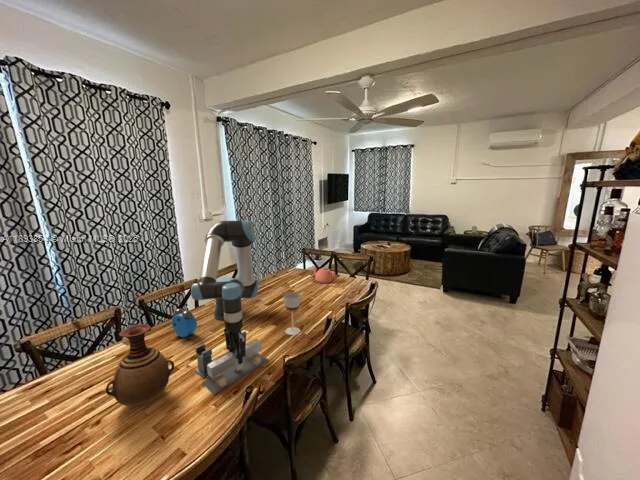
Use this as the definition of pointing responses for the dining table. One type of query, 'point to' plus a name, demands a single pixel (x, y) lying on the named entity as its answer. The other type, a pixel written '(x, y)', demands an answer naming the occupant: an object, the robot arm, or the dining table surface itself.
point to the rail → (232, 359)
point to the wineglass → (292, 308)
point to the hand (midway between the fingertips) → (236, 367)
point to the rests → (222, 381)
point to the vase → (139, 370)
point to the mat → (234, 374)
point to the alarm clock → (184, 323)
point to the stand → (206, 358)
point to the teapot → (323, 275)
